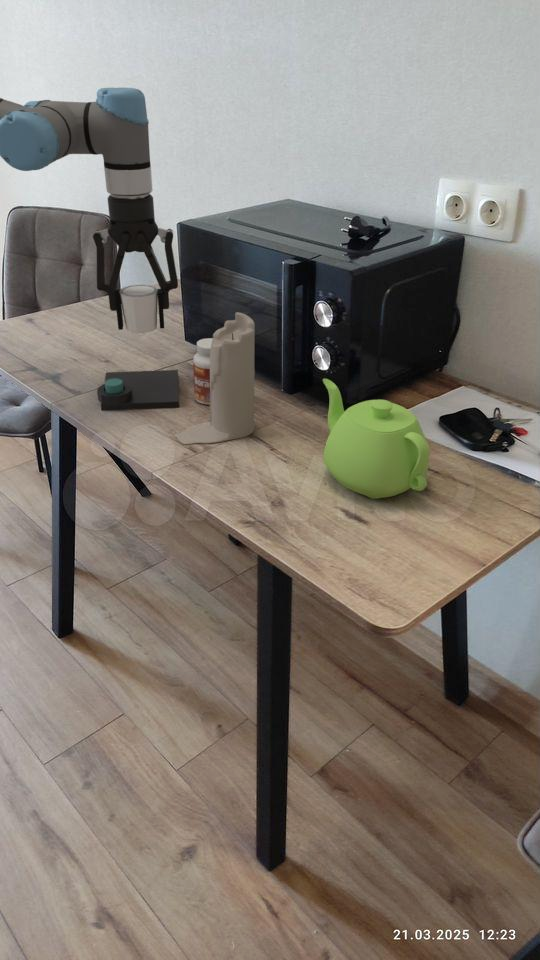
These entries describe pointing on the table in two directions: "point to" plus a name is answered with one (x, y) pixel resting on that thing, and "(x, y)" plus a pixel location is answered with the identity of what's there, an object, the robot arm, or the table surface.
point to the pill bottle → (202, 371)
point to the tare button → (114, 386)
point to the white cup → (139, 307)
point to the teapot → (375, 447)
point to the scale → (141, 390)
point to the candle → (228, 385)
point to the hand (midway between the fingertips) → (141, 326)
